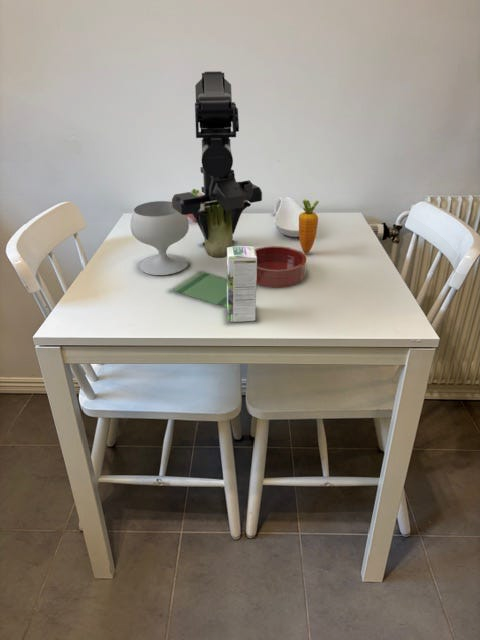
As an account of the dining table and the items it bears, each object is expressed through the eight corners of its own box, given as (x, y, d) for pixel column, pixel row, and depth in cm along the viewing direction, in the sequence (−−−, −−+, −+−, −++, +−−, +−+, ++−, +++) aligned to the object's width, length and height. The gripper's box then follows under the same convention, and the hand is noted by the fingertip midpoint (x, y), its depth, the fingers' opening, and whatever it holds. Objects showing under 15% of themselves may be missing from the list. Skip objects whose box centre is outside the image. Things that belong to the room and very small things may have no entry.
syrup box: (226, 308, 104) (225, 246, 96) (253, 307, 104) (254, 245, 97) (228, 322, 99) (226, 257, 91) (256, 321, 99) (257, 256, 92)
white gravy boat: (319, 240, 136) (321, 215, 133) (279, 243, 135) (280, 218, 131) (297, 212, 156) (298, 190, 153) (261, 215, 155) (262, 193, 151)
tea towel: (173, 290, 111) (173, 289, 111) (200, 272, 119) (200, 271, 119) (227, 307, 104) (227, 306, 104) (253, 287, 112) (253, 286, 112)
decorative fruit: (181, 216, 155) (179, 185, 149) (207, 214, 155) (205, 183, 150) (181, 226, 147) (179, 193, 141) (208, 225, 147) (207, 192, 142)
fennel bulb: (234, 253, 110) (233, 202, 103) (228, 262, 106) (226, 209, 99) (210, 251, 111) (207, 199, 105) (203, 259, 107) (200, 207, 100)
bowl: (234, 278, 116) (233, 262, 114) (263, 256, 127) (264, 241, 125) (288, 293, 110) (289, 276, 107) (314, 269, 120) (316, 253, 118)
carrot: (317, 251, 129) (321, 196, 122) (313, 259, 125) (317, 202, 118) (298, 249, 131) (302, 195, 123) (294, 256, 127) (297, 200, 119)
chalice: (151, 252, 130) (145, 197, 122) (199, 258, 126) (196, 202, 119) (125, 274, 119) (117, 215, 111) (177, 281, 115) (172, 221, 107)
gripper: (190, 179, 88) (195, 258, 96) (277, 166, 95) (274, 240, 103) (168, 166, 96) (174, 239, 104) (249, 155, 104) (249, 224, 112)
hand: (219, 236), depth 106 cm, fingers closed on fennel bulb, 6 cm apart
